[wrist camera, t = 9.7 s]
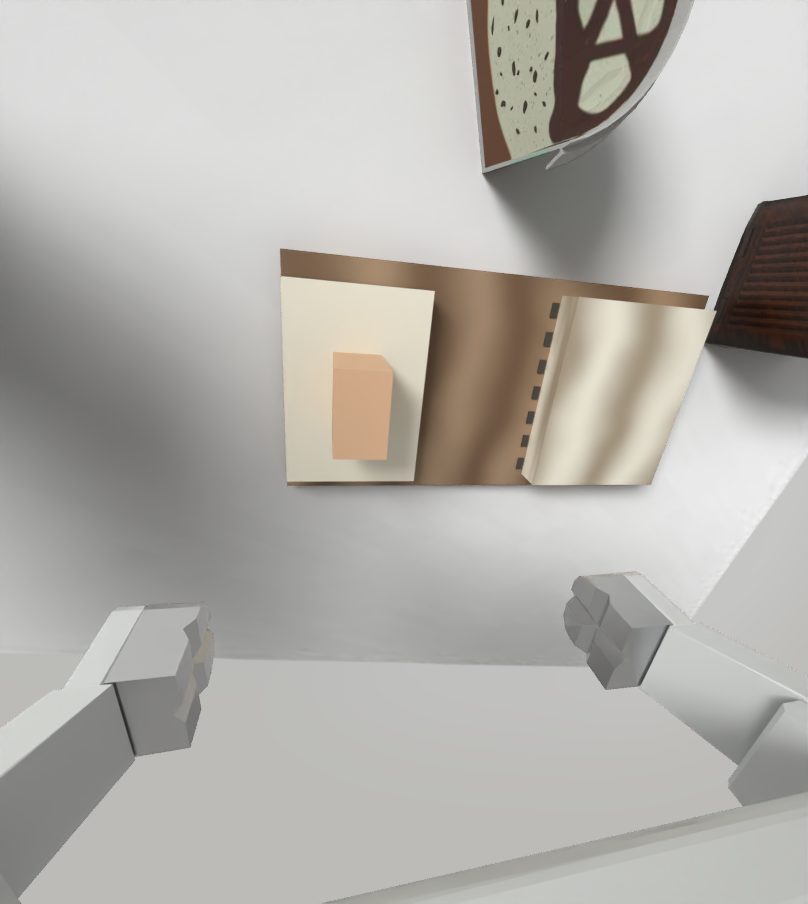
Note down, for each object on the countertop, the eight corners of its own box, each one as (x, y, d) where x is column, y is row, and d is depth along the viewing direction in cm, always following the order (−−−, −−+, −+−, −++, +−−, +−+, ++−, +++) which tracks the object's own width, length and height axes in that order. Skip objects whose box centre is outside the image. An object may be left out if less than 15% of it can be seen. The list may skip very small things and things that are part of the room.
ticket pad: (289, 476, 31) (284, 499, 28) (282, 250, 25) (276, 245, 21) (628, 476, 37) (656, 494, 34) (692, 295, 31) (734, 296, 28)
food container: (572, 182, 26) (701, 131, 17) (484, 200, 26) (570, 158, 17) (570, -92, 21) (756, -376, 12) (459, -75, 20) (565, -359, 11)
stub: (289, 468, 29) (278, 522, 22) (283, 276, 24) (267, 275, 17) (408, 469, 30) (429, 518, 24) (427, 290, 25) (459, 293, 19)
